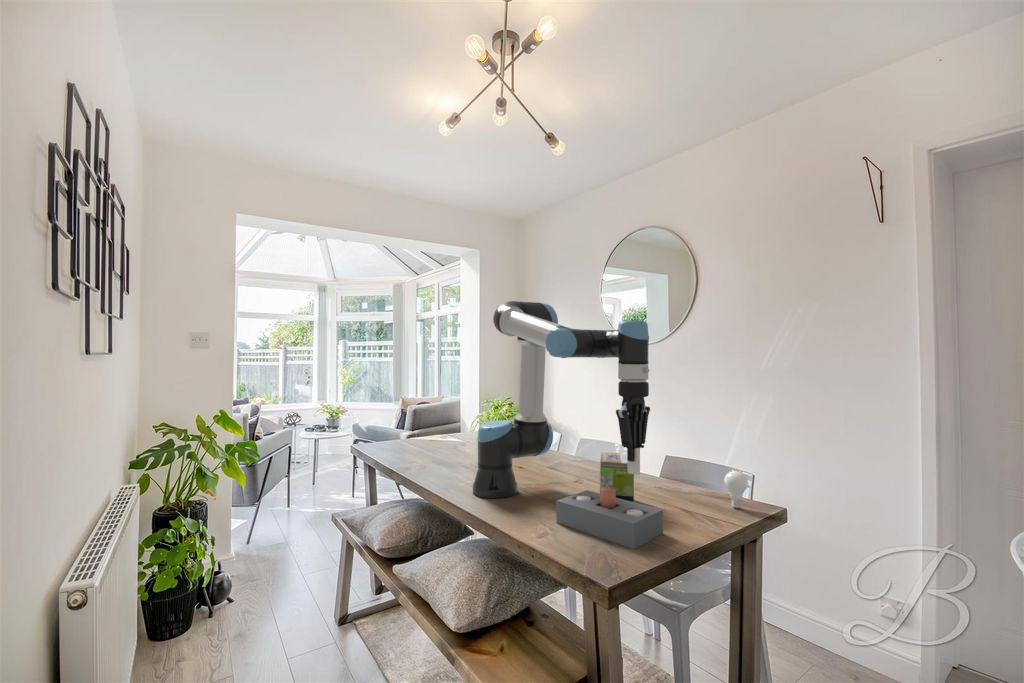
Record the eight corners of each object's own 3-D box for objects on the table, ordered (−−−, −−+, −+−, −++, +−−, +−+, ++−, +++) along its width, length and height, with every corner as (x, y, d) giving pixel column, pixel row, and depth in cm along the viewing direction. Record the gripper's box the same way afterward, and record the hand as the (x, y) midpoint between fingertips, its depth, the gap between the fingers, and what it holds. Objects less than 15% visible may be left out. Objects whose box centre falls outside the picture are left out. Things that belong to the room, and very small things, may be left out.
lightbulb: (720, 506, 138) (719, 470, 138) (733, 503, 140) (733, 467, 141) (739, 513, 132) (738, 475, 132) (753, 509, 135) (752, 472, 135)
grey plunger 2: (623, 533, 115) (623, 511, 115) (632, 529, 118) (631, 508, 118) (637, 538, 112) (637, 515, 112) (645, 533, 115) (645, 511, 115)
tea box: (635, 514, 131) (634, 462, 132) (599, 511, 133) (599, 461, 134) (631, 498, 146) (631, 452, 146) (600, 496, 148) (599, 450, 148)
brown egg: (597, 509, 121) (597, 489, 121) (605, 506, 124) (605, 486, 124) (610, 513, 118) (609, 492, 118) (618, 509, 121) (618, 489, 121)
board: (556, 522, 124) (556, 500, 124) (587, 510, 134) (587, 490, 134) (634, 549, 107) (634, 523, 107) (662, 533, 117) (662, 509, 117)
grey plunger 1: (573, 517, 126) (573, 497, 127) (582, 514, 129) (582, 494, 129) (585, 521, 123) (585, 501, 124) (593, 517, 126) (593, 497, 126)
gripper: (632, 382, 109) (633, 481, 108) (659, 380, 118) (659, 471, 117) (606, 381, 114) (606, 475, 114) (633, 379, 123) (634, 466, 123)
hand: (633, 473), depth 115 cm, fingers closed
